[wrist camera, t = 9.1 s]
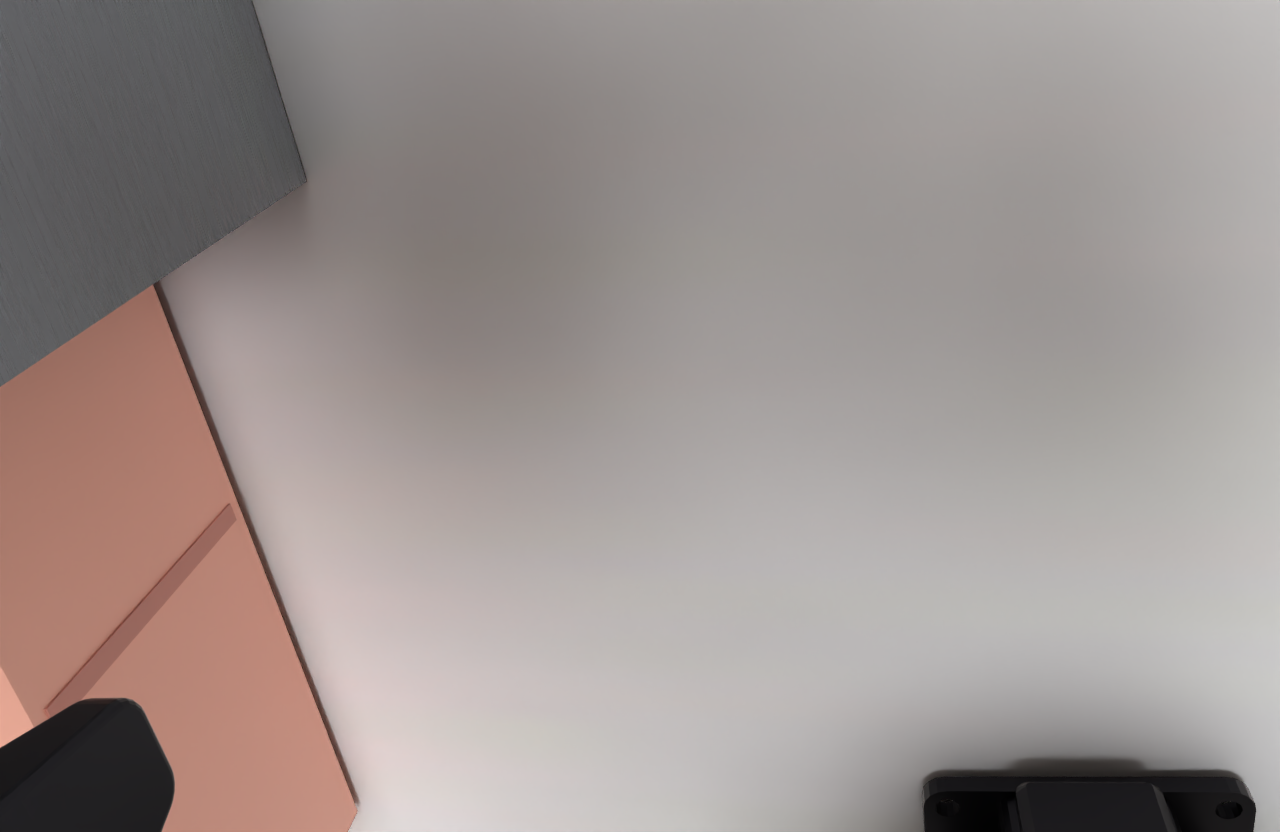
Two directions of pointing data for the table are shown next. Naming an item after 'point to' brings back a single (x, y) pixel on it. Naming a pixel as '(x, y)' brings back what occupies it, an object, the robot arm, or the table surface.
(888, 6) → the table surface
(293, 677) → the pink ridged slab
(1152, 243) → the table surface
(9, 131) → the dark grey block
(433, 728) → the table surface
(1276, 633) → the table surface
